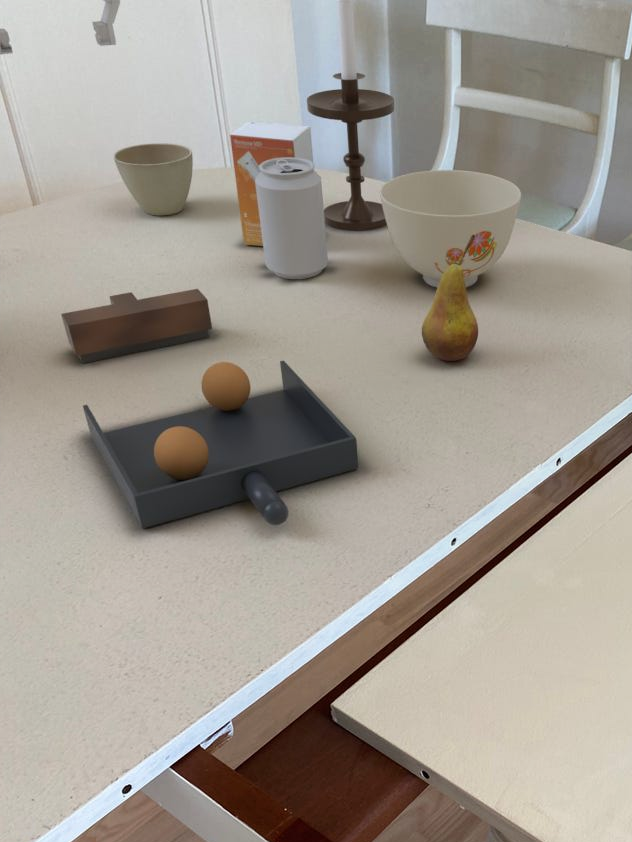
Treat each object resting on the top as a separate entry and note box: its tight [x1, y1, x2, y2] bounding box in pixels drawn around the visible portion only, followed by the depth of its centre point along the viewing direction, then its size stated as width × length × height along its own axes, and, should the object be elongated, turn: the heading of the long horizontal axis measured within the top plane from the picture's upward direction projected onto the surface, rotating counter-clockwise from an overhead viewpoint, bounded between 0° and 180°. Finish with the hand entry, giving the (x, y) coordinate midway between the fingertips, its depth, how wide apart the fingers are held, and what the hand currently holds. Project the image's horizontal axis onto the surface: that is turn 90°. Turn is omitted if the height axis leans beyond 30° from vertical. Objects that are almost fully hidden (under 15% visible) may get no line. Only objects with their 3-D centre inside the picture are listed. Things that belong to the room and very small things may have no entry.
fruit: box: [421, 235, 479, 362], centre depth 97 cm, size 6×6×12 cm
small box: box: [229, 121, 315, 247], centre depth 120 cm, size 8×6×13 cm
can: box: [255, 157, 329, 280], centre depth 113 cm, size 8×8×12 cm
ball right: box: [201, 361, 251, 411], centre depth 90 cm, size 4×4×4 cm
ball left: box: [154, 426, 209, 480], centre depth 81 cm, size 4×4×4 cm
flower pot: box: [113, 142, 194, 217], centre depth 130 cm, size 10×10×7 cm
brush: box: [60, 288, 213, 364], centre depth 102 cm, size 14×8×4 cm, turn 120°
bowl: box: [379, 169, 522, 289], centre depth 113 cm, size 16×16×10 cm
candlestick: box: [306, 0, 395, 232], centre depth 119 cm, size 11×11×35 cm
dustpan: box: [82, 360, 359, 529], centre depth 83 cm, size 22×19×3 cm
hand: (56, 48), depth 92 cm, fingers open, 8 cm apart
